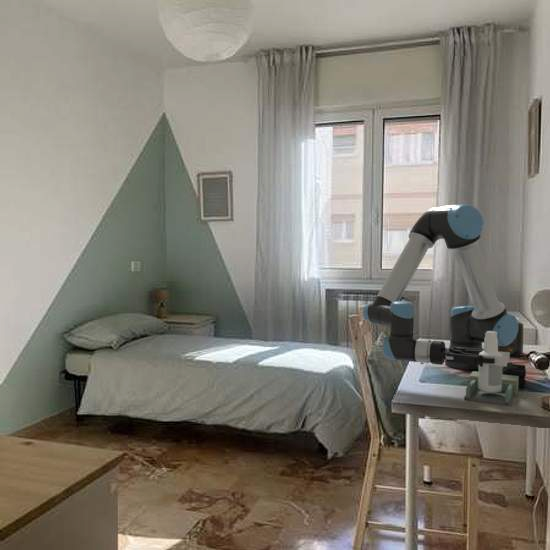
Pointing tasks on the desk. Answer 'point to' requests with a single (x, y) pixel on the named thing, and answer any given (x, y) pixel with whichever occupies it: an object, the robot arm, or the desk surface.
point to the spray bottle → (490, 366)
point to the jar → (515, 343)
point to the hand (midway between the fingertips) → (508, 359)
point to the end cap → (516, 373)
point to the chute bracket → (497, 398)
